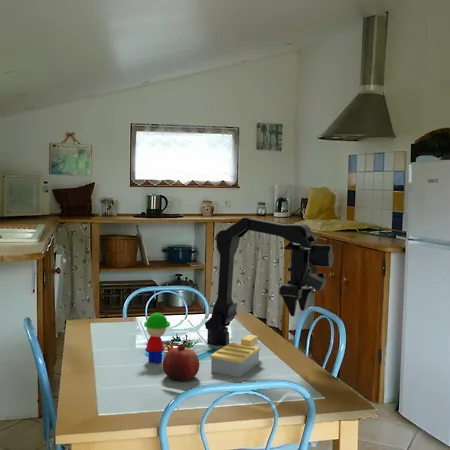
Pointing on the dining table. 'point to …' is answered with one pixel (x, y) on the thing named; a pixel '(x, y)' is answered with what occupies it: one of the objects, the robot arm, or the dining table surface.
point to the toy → (155, 336)
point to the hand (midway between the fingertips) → (297, 313)
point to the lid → (238, 350)
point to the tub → (234, 366)
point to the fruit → (181, 363)
